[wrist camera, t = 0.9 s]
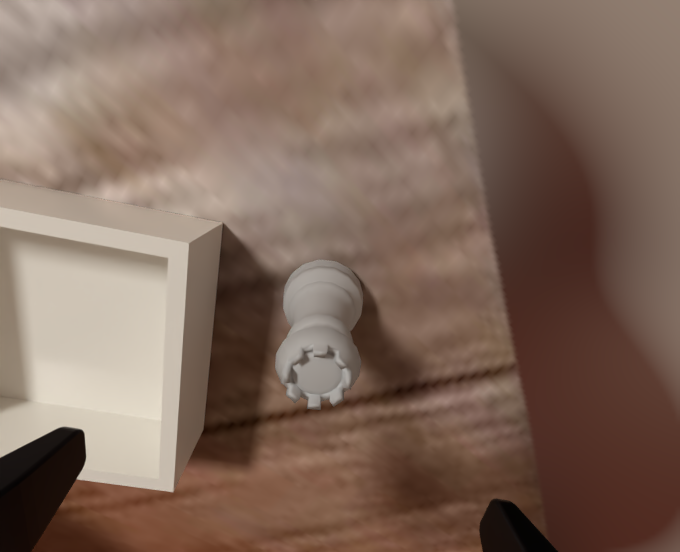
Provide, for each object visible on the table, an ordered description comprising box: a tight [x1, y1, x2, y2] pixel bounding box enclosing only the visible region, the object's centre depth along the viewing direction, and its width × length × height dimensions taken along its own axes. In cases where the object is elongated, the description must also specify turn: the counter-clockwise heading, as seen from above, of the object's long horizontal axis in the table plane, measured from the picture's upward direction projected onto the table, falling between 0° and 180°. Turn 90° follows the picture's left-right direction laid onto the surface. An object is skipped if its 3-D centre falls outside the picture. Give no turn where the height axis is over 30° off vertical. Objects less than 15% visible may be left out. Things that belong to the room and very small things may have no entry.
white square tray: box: [0, 179, 223, 492], centre depth 18 cm, size 14×14×4 cm
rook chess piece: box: [275, 260, 363, 410], centre depth 16 cm, size 4×4×8 cm
